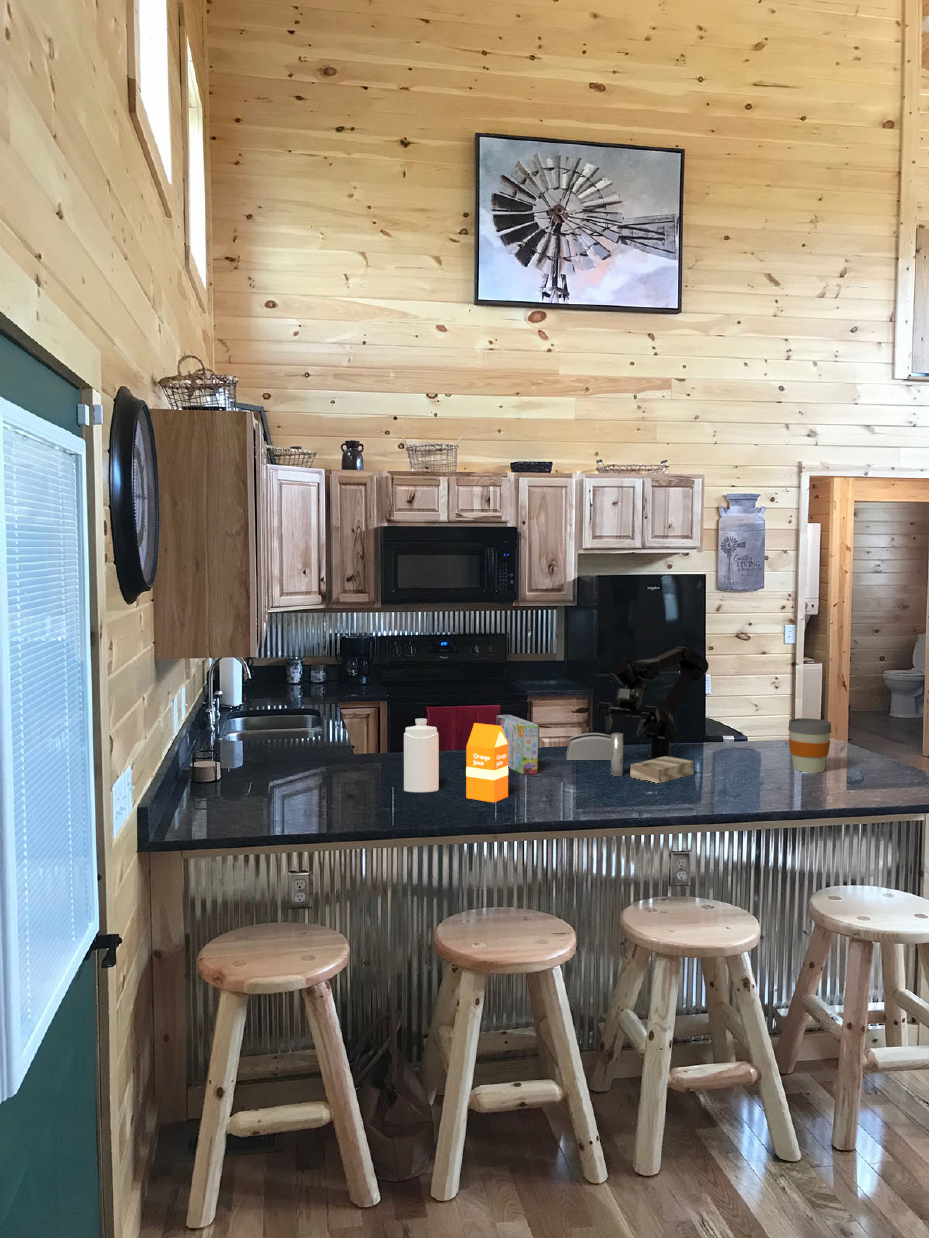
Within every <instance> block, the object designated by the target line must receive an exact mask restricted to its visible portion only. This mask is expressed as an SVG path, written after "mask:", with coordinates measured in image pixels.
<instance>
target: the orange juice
mask: <svg viewBox="0 0 929 1238" xmlns="http://www.w3.org/2000/svg"><path fill="white" fill-rule="evenodd" d="M465 777H466V788H465V789H466V791H465V792H466V793H465V794H466V799H472V800H477V801H483V802H488V803H489V802H490V803H497V802H499V801H501V800H503V799H505V798H508V797H509V768H508V742H507V739H506V737H505V734H504V732H503V729H502V726H498V725H496V724H488V723H487V724H486V723H479V722H474V723H473V725H472V730H471V732H470V736H469V737H468V741H467V744H466V768H465Z"/></svg>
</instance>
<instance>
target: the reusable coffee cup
mask: <svg viewBox="0 0 929 1238" xmlns="http://www.w3.org/2000/svg"><path fill="white" fill-rule="evenodd" d="M788 721H789V722H788V728H787V730H788V731H789V738H788V743H789V744H788V745H789V751H790V754H791V759H792V768H793V770H794V771H795V770H798V771H802V772H801V773H804V772H809V773H808V774H818V773H817V772H822V771H824V772H825V768H826V763H827V762H826V761H827V757H828V756H829V752H830V746H831V740H830V737H831V733H832V723H831V721H828V720H826V719H820V718H819V719H818V718H807V717H804V718H803V717H802V718H801V717H800V718H791V719H789V720H788ZM798 771H797V772H798ZM822 773H823V772H822Z"/></svg>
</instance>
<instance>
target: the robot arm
mask: <svg viewBox="0 0 929 1238" xmlns="http://www.w3.org/2000/svg"><path fill="white" fill-rule="evenodd" d="M676 664H677V665H679V677H678V678H677V679H676V681H675V683H674V684H673V685H672V688H671V689H670V691H669V692H668V694H667V696H666V697H665V699H664V700H663V702H662V704H661V705H660V707H659V708H658V707H657V706H655V705H653V706H652V705H644V706H643V709H640V706H642V698H643V694H644V692H648V691H649V688H648V686H647V684H646V682H645V681H644V680H646V681H653V680H655V679H657V678H658V677H659V676H660V675H661V672H662V671H664V670H666V669H668V668H671V667H673V666H674V665H676ZM709 666H710V665H709V663H708V660H707V659H706V657H703V656H701V655H700V654H698V653H695V652H694V651H692V650H691V649H690V648H688V647H685V646H676V647H675V646H674V648H673V649H671V650H669V651H666V652H664V653H663V654H660V655H657V656H656V657H654V658H649V659H648V658H647V659H639V660H636V661H635V662H634V663H633V664H632V663H631V660H630V659H629V658H628V657H627V658H626V657H623V658H622V659H621V660H619V661H617V662H615V663H614V664H613V665H612V666H611V669H610V671H611V674H612V675H613V676H614V677H615V679H616V680H617V681H618V683H619V684H620V685H622V686H625V688H617V690H616V695H615V696H616V697H615V698H616V700H617V706H619V707H614V706H612V703H611V702H601V701H600V702H598V703H597V706H596V708H595V709H596V712H597V714H598V717H599V719H600V720H602V721H603V722H604V723H605V734H607V735H610V733H611V729H612V725H613V722H614V721H613V718H614V717H615V716H614V715H618V716H626V717H635V718H640V720H639V722H638V726H637V729H636V732H635V737H636V738H639V737H640V736H641V735H642V733H645V736H646V739H649V740H651V745H650V749H651V750H650V755H648V756H647V759H650V760H652V759H656V758H660V757H664V756H668V757H674V758H676V757H675V756H673V755H672V754H671V753H672V751H671V748H672V747H671V746H672V742H673V743H674V741H677V738H678V733H677V731H676V730H675V729H674V724H675V722H674V716H675V713H676V712H677V711H678V709H679V707H680V706H681V704H682V702H683V700H684V699H685V697H686V696H687V694H688V692H689V691H690V689H691V687H692V685H693V684H694V683H696V682H697V681H700V680H701V679H702V678H703V677H705V675H706V674H707V672H708V670H709Z"/></svg>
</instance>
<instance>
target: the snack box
mask: <svg viewBox="0 0 929 1238" xmlns="http://www.w3.org/2000/svg"><path fill="white" fill-rule="evenodd" d="M495 718H496V719H495V725H498V726H502V729H503V732H504V734H505V737H506V739H507V742H508V767H509V768H508V769H510V770H513V771H515V772H517V773H519V774H520V775H523V776H524V775H537V774H538V761H539V760H538V758H539V757H538V756H539V733H540V732H539V731H540V730H539V727H540V725H539V724H537V723H534V722H531V721H528V720H526V719H524V718H520V717H518V716H514V715H512V714H502V715H501V714H499V715H496V717H495Z"/></svg>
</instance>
